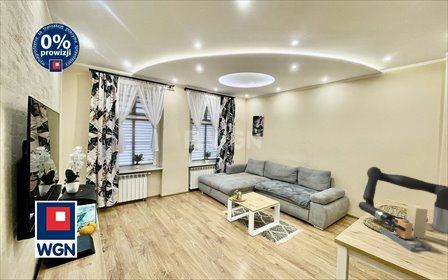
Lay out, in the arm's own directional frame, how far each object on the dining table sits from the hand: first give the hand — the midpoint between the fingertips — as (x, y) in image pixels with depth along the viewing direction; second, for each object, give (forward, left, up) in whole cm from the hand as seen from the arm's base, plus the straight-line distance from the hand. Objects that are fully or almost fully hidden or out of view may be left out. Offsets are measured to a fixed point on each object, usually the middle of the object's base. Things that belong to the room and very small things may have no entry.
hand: (408, 229), depth 120 cm
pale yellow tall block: (-17, +7, -9) cm, 20 cm away
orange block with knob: (-2, -2, -6) cm, 7 cm away
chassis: (-2, -1, -9) cm, 9 cm away
